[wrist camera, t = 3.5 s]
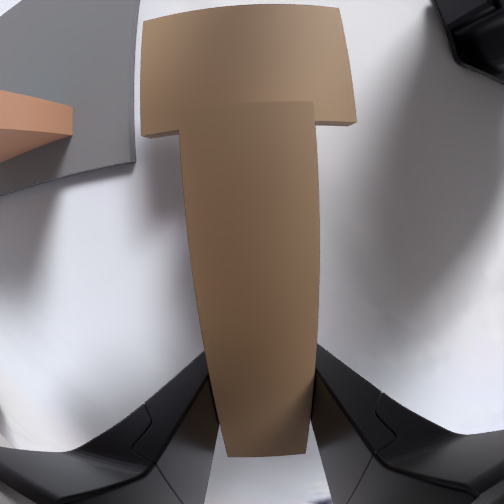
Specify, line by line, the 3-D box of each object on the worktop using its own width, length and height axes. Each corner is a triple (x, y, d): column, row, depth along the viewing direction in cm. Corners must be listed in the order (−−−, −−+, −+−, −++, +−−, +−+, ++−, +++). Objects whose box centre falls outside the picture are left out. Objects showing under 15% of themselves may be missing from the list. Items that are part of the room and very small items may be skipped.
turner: (332, 19, 7) (359, -29, 4) (336, 391, 10) (353, 445, 7) (151, 31, 7) (115, -12, 4) (192, 399, 11) (179, 453, 8)
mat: (149, -54, 7) (146, -59, 7) (135, 161, 11) (130, 161, 10) (3, 19, 7) (-2, 17, 7) (-16, 201, 11) (-22, 203, 11)
